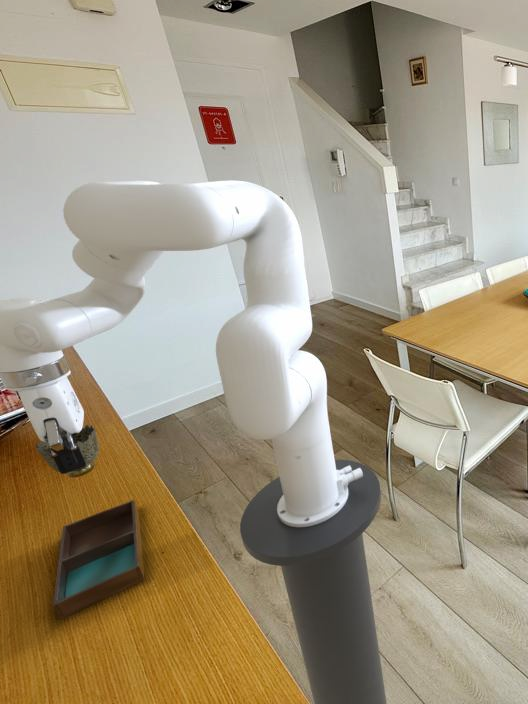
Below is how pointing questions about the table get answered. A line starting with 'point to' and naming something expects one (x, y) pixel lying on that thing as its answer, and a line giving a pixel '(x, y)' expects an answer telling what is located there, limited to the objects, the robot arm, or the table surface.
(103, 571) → the tray
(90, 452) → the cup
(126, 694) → the table surface
